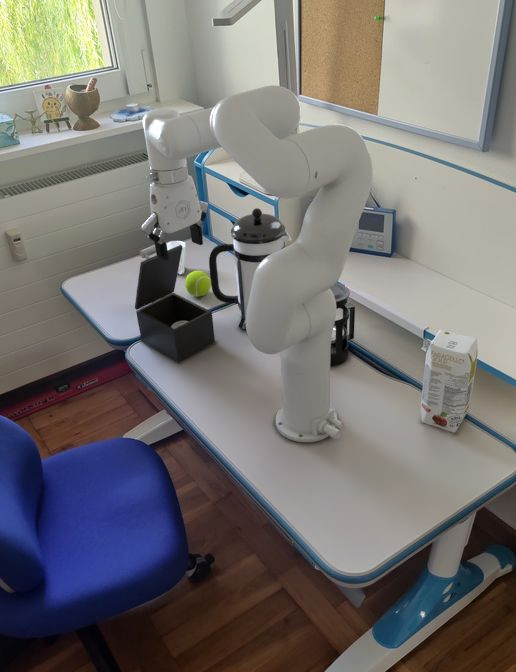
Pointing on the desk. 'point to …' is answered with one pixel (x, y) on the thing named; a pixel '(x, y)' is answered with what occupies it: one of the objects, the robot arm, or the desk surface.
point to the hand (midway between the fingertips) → (180, 250)
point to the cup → (182, 259)
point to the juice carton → (448, 379)
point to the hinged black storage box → (182, 339)
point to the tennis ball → (198, 283)
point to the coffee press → (248, 254)
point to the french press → (342, 325)
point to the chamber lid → (156, 275)
